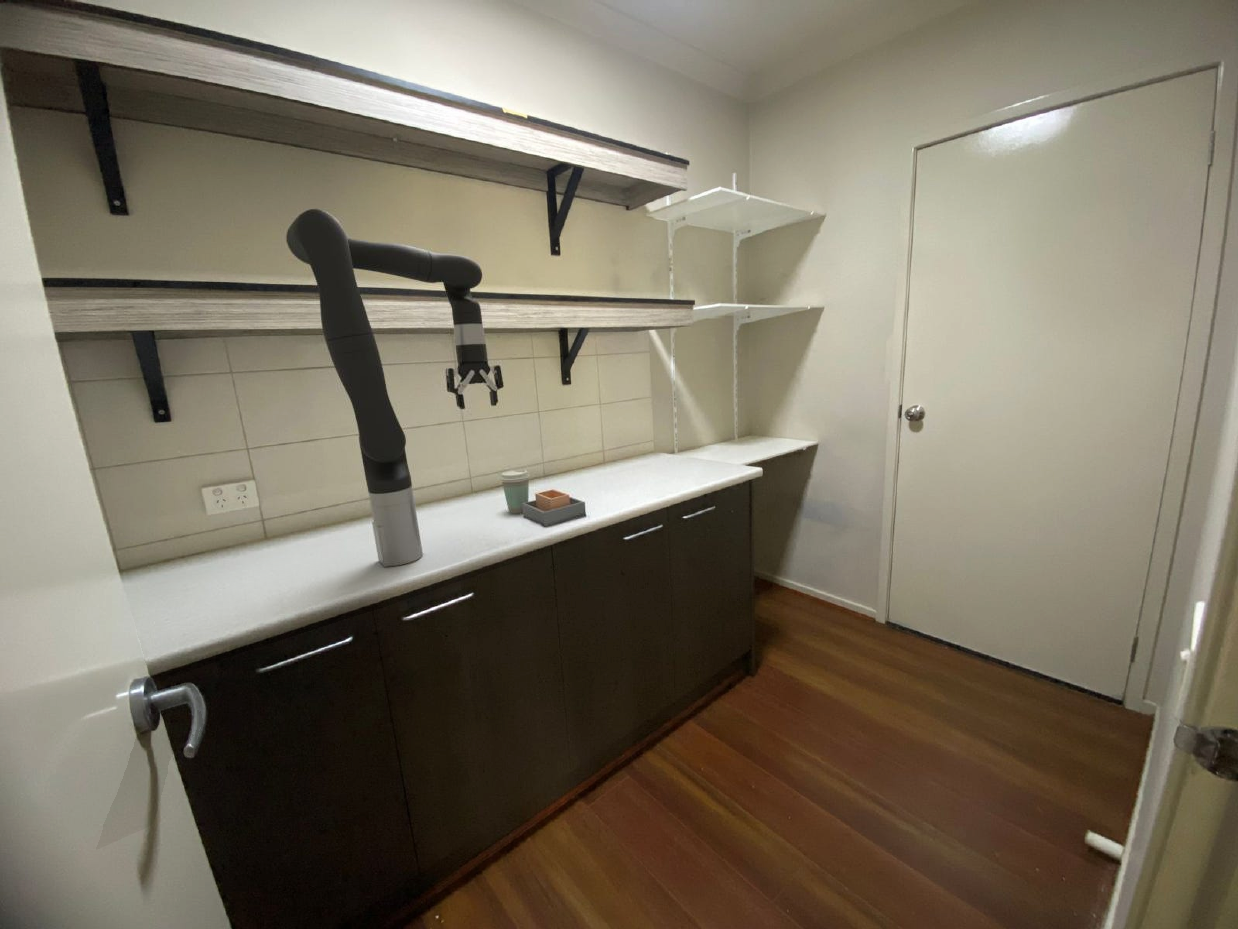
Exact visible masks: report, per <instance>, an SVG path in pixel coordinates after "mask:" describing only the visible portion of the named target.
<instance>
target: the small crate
mask: <svg viewBox="0 0 1238 929" xmlns="http://www.w3.org/2000/svg"><path fill="white" fill-rule="evenodd" d="M534 495H535V500H536V506H537V509H539V510H542V511H544V512H546V511H550V510H554V509H557V508H561V507H565V506H569V505H570V499H569V497H570V494H568V493H566V492H563V491H559V490H556V489H548V490H544V491H540V492H536V493H534Z"/></svg>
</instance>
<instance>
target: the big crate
mask: <svg viewBox="0 0 1238 929" xmlns="http://www.w3.org/2000/svg"><path fill="white" fill-rule="evenodd" d="M569 499H570V505H569V506H565V507H561V508H557V509H554V510H550V511H546V512H544V511H542V510H539V509H537V506H536V499H535V500H530V501H529V500H528V502H525V503H522V509H523V513H522V516H523V517H524V518H526V519H527V520H529V521H532V522H534V523H536V524H539V525H540V526H542V527H545V528H546V527H549V526H553V525H554V526H555V525H557V524H560V523H564V522H568V521H571V520H575V519H578V518H582V517H585V516H586V515H587V514H586V513H587V512H586V502H585V501H583V500H581V499H577V498H574V497H572V496H569Z"/></svg>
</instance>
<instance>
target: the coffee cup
mask: <svg viewBox="0 0 1238 929" xmlns="http://www.w3.org/2000/svg"><path fill="white" fill-rule="evenodd" d="M529 479H530V474H529V472H528V471H527V470H526V469H512V470H507V471H504V472H502V473H501V475H500V482H501V484H502V488H503V492H504V496H505V501H506V506H507V509H508V510H507V511H508V513H509V514H514V515H515V514H516V515H517V514H523V509H522V503H525V502H529V492H530V490H529V489H530V488H529V487H530V486H529V485H530V484H529V482H530V481H529Z"/></svg>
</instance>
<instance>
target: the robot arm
mask: <svg viewBox="0 0 1238 929" xmlns="http://www.w3.org/2000/svg"><path fill="white" fill-rule="evenodd" d="M285 239H286V240H285V241H286V244H287V247H288V249H289V250H290V253H292V255H294V257H296V259H298V260H299V261H301V262H302V263H304V264H307V265H309V266H310V268H311V270H312V273H313V276H314V278H315V281H316V285H317V289H318V296H319V306H320V307H319V311H320V319H321V320H320V321H321V328H322V333H323V337H324V340H325V344H326V347H327V350H328V354H329V355H330V358H331V361H332V364H333V366H334V369H335V371H336V373H337V375H338V378H339V380H340V381H341V384H342V385H343V387H344V389H345V392H346V393H347V395H348V398H349V401H350V402H351V405H352V409H353V412H354V416H355V421H356V426H357V429H358V443H359V448H360V455H361V458H362V464H363V470H364V476H365V481H366V487H367V491H368V492H367V493H368V496H369V502H370V509H371V514H372V520H373V521H372V522H371V523H372V530H373V536H374V542H375V547H376V553H377V559H378V561H379V563H380V564H381V565H382V567H383V568H387V567H394V566H395V567H397V566H402V565H406V564H410V563H413V562H415V561H417V560H419V559H420V558H421V557H423V553H424V551H423V547H422V540H421V534H420V529H419V528H420V527H419V521H418V516H417V515H418V514H417V509H416V503H415V502H416V501H415V496H414V490H413V483H412V476H411V472H410V470H409V465H408V459H407V452H406V445H407V437H406V434H405V432H404V430H403V428H402V426H401V424H400V421H399V419H398V417H397V415H396V413H395V410H394V407H393V405H392V402H391V400H390V397H389V393H388V390H387V384H386V377H385V373H384V367H383V364H382V359H381V356H380V351H379V348H378V345H377V340H376V338H375V335H374V331H373V329H372V326H371V323H370V320H369V318H368V313H367V310H366V308H365V304H364V301H363V299H362V295H361V293H360V290H359V287H358V284H357V283H358V282H357V279H356V276H355V270H362V271H363V270H364V271H369V272H376V273H381V274H386V275H390V276H391V275H392V276H396V277H401V278H405V279H409V280H414V281H418V282H423V283H428V284H436V283H443V288H444V290H445V291H444V292H445V293H446V294H445V295H446V296H447V299H448V303H449V304H450V307H451V313H452V314H451V315H452V322H453V336H454V337H453V339H454V340H453V343H454V346H455V353H456V354H455V355H456V359H457V360H456V361H457V367H456V368H452V367H450V368H449V367H448V368H446V369H445V380H446V391H447V392H448V393H451V394H454V395H455V401H456V406H457V408H459V409H460V410H466V409H465V408H466V406H465V404H466V403H465V398H464V394H463V393H464V391H465V389H466V387H467V386H468V385H475V384H484V386H486V388H488V390H489V400H490V406H492V407H495V406H497V404H498V403H499V398H498V390H500V389H502V388H504V387H505V386H504V380H503V374H502V368H501V366H500V365H499V364H498V365H497V364H496V365H492V366H490V365H489V362H488V361H489V360H488V359H489V358H488V351H487V350H488V349H487V344H486V343H487V342H486V335H485V330H484V325H483V317H482V308H481V305H480V303H479V302H478V301H476V300H475V299H474V298H473V295H472V291H471V289H474V288H475V287H478V285H480V283H481V282H482V279H483V272H482V269H481V266H480V265H479V264H478V263H477V262H476V261H475V260H474V259H471V258H469V257H466V256H464V255H463V256H462V255H457V254H449V253H448V254H447V253H439V252H437V253H436V252H433V251H430V250H427V249H422V248H418V247H414V246H412V245H406V244H400V243H391V242H375V241H368V240H362V239H357V238H352V237H350V236H347V234H346V232H345V229H344V227H343V226H342V224H341V223H340V221H339V220H338V219H337V218H336V217H334V216H333V215H332V214H331V213H329V212H327V210H323V209H319V208H310V209H307V210H305V211H303V212H302V213H300V214H299V215H298V216H296V218H295V219H294V220H293V222H291V224H290V226H288V229H287V232H286V237H285ZM354 269H355V270H354ZM490 372H491V374H492V375H493V379H494V382H493V380H492V379H491V378H490V376H489V374H490ZM457 374H458V376H459V377H460V380H459V381H458V383H457V386H456V385H455V377H456V376H457Z"/></svg>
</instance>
